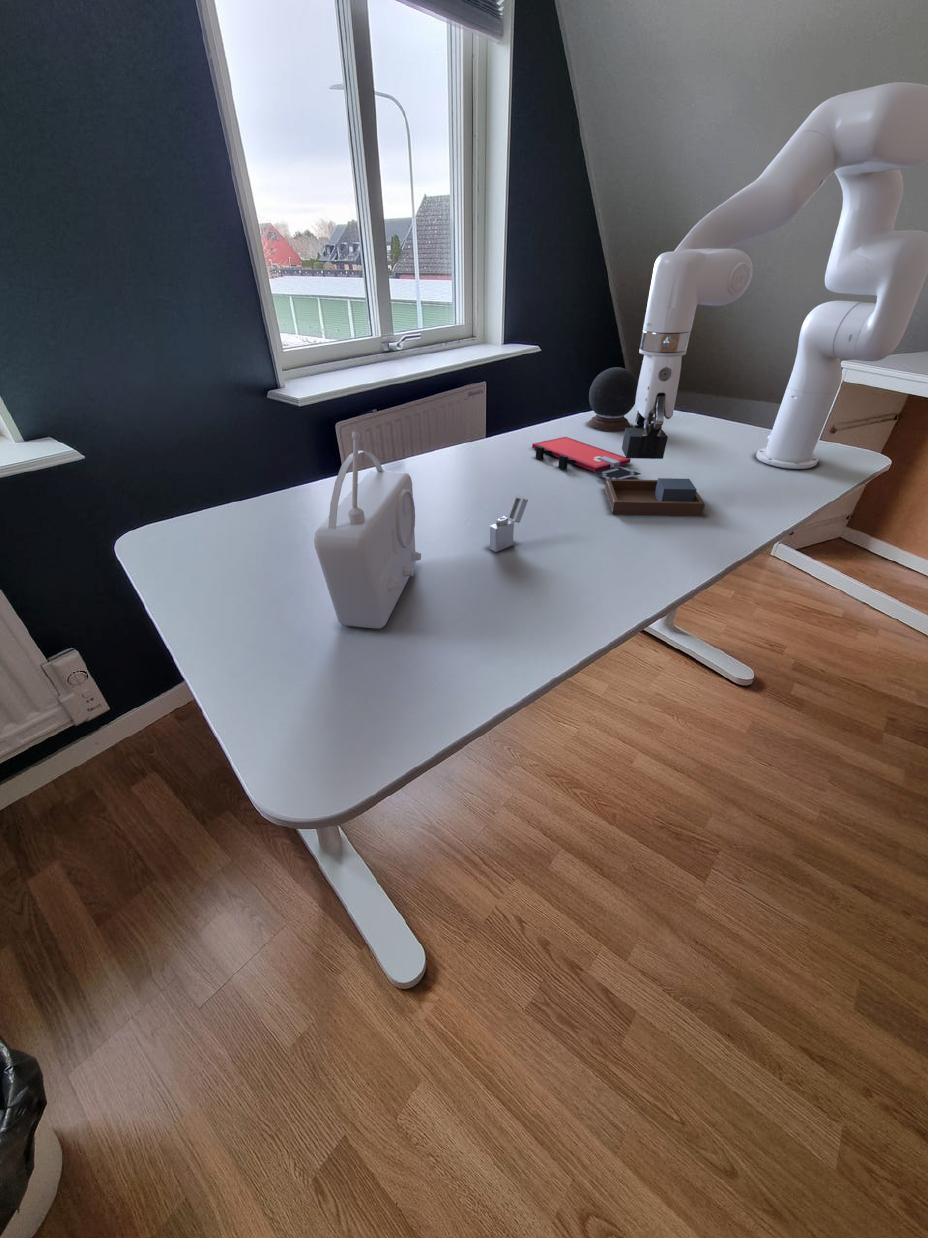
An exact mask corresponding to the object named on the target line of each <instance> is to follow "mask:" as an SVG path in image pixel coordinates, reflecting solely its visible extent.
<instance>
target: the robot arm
mask: <svg viewBox="0 0 928 1238" xmlns="http://www.w3.org/2000/svg"><path fill="white" fill-rule="evenodd" d="M925 164H928V84H924V83H923V84H922V83H916V82H905V81H894V82H893V81H892V82H888V83H883V84H882V83H881V84H879V85H875V86H870V87H865V88H861V89H858V90H852V91H848V92H844V93H840V94H837V95H834V96H832V97H830V98H828V99H826V100H825V101H822V102H821V103H820V104H819V105H818V106H816V108H814V110H812V112H811V113H810V114H809V115H808V116H807V117H806V118H805V120H804V121H803V122H802V123H801V125H800V126H799V127H798V128H797V129H796V131H794V133H793V134H792V136H791V137H790V138H789V139H788V141H786V144H785V145H784V146H783V147H782V148H781V149H780V151H779V152H777V155H776V156H775V157H774V158H773V159H772V160H771V162H769V164H768V165H767V166H766V168H765V169H764V170H763V171H762V172H761V174H760V175H759V176H758V177H757V178H756V180H753V182H751V183H750V184H747V185H746V186H744V187H743V188H742V189H740V190H739V191H737V192H736V193H734V194H733V195H731V196H730V197H729V198H728V199H726V200H725V201H724V202H722V203H721V204H719V205H718V206H717V207H715V208H714V209H712V210H711V211H710V212H708V213H707V214H705V216H703V217H702V218H701V219H700V220H699V221H698V222H697V223H696V224H694V226H693V227H692V228H691V229H690V230H689V231H688V233H687V234H686V235H685V237H684V238H683V239H682V240H681V241H680V243H679V244H678V245H677V246H676V248H675V249H674V251H673V250H672V251H666V252H662V253H660V254H659V255H658V256H657V258H656V259H655V262H654V264H653V270H652V276H651V282H650V287H649V292H648V293H649V294H648V298H647V306H646V310H645V311H646V312H645V315H644V321H643V326H642V327H643V328H642V333H641V338H640V345H639V351H638V353H639V354H641V355H643V360H642V362H641V363H642V364H641V368H640V372H639V378H638V381H637V383H638V387H637V393H636V401H635V405H634V407H635V408H636V410H637V413H636V417H635V421H634V425H633V428H644V430H643V435H641V437H640V442H639V447H638V452H637V457H638V458H637V459H639V458H655V456H656V451H657V447H658V442H659V438H660V433H661V429H663V425H664V422H665V419H666V420H670V419H671V418H672V417H673V415H674V412H675V405H676V399H677V395H678V390H679V385H680V377H681V369H682V357H683V356H685V355H686V354H687V350H688V347H689V342H690V339H691V338H690V337H691V333H692V328H693V325H694V320H695V316H696V311H697V307H698V305H700V306H710V307H722V306H726V305H727V306H728V305H729V304H732V303H733V302H735V301H737V300H738V299H739V298H740V297H742V296H743V294H744V293H745V292H746V291H747V289H748V288H749V286H750V284H751V281H752V278H753V273H754V267H753V262H752V259H751V258H750V256H749V255H748V254H747V252H745V251H743V250H741V249H737V248H734V247H736V246H738V245H740V244H742V243H745V242H748V241H750V240H754V239H755V238H760V237H761V236H763V235H766V234H769V233H771V232H774V231H775V230H778V229H780V228H783V227H784V226H785V225H787V224H790V223H791V222H792V221H793V220H794V219H795V218H797V216H798V215H799V214H800V213H801V211H803V209H804V208H805V207H806V205H807V204H808V203H809V202H810V200H811V199H812V198H813V196H815V194H816V193H817V192H818V191H819V190H820V188H821V187H822V186H823V185H824V184H825V182H826V181H828V179H830V177H831V176H832V175H833V173H834V175H835V176H836V178H837V180H838V182H839V184H840V187H841V191H842V208H841V212H840V216H839V221H838V225H837V228H836V232H835V234H834V235H835V236H834V239H833V243H832V246H831V250H830V254H829V258H828V261H827V265H826V269H825V274H824V286H825V289H827V290H828V291H829V292H831V293H836V294H844V295H845V294H846V295H858V296H859V295H862V296H876V302H866V301H857V300H856V301H855V300H831V301H826V302H823V303H820V304H819V305H817V306H815V307H814V308H813V309H812V310H811V311H809V312H808V313H807V315H806V316H805V319H804V320H803V322H802V325H801V327H800V330H799V331H800V332H799V337H798V345H797V350H796V354H795V355H796V356H795V360H794V364H793V367H792V370H791V373H790V376H789V380H788V382H787V385H786V388H785V392H784V394H783V397H782V399H781V400H782V401H781V403H780V406H779V409H778V412H777V415H776V417H775V421H774V423H773V427H772V429H771V432H770V434H769V435H767V440H768V441H767V444H766V447H762V448H760V449H758V450H757V451H756V454H755V457H756V459H757V460H758V461H760V463H761V462H762V463H764V464H766V465H769V466H773V467H777V468H782V469H790V470H805V469H810V468H813V467H816V466H817V464H818V462H819V458H818V457H817V455H815V454H813V453H814V451H815V449H816V446H817V445H818V444H817V443H818V442H819V439H820V436H821V434H822V431H823V429H824V426H825V424H826V421H827V419H828V416H829V414H830V411H831V408H832V406H833V404H834V401H835V399H836V397H837V394H838V392H839V389H840V386H841V384H842V379H843V368H842V364H841V359H847V360H854V361H863V362H878V361H882V360H884V359H886V358H887V357H889V356H890V355H891V354H892V353H893V352H895V350H896V348H897V347H898V346H899V344H900V342H901V341H902V340H903V337H904V334H905V332H906V330H907V327H908V325H909V323H910V320H911V317H912V315H913V313H914V310H915V308H916V304H917V302H918V300H919V296H920V294H921V291H922V289H923V287H924V284H925V281H926V278H927V277H928V232H927V231H924V230H919V229H904V230H895V225H896V224H895V223H896V220H897V216H898V213H899V210H900V207H901V203H902V200H903V196H904V179H903V175H902V172H901V170H907V169H913V168H914V169H915V168H918V167H921V166H924V165H925Z"/></svg>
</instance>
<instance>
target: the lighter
mask: <svg viewBox="0 0 928 1238" xmlns="http://www.w3.org/2000/svg"><path fill="white" fill-rule="evenodd" d="M528 501H529V499H528V498H525V497H523V496H521V495H516V496H515V498H514V499H513V504H512V505H511V508H510V510H509V514H508V516H505V515H503V516H501V517H498V518H496V522H495V523H494V524H491V525H490V526H489V550H491V551H493V552H495V553H498V552H500V551H503V550H505V549H507V548H509V547H511V546H513V545H514V529H515V523H517V524H519V523H521V520H522V518H523V516H524V512H525V511H526V507H527V504H528Z"/></svg>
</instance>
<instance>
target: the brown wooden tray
mask: <svg viewBox="0 0 928 1238" xmlns="http://www.w3.org/2000/svg"><path fill="white" fill-rule="evenodd" d="M657 481H658V479H629V478H625V479H606V478H605V485H604V493H605V496H606V499H607V502H608V505H609V508H610V512H611V514H612V515H642V516H643V515H645V516H647V515H649V516H685V517H687V516H689V517H690V516H693V517H694V516H695V517H702V516H703V512H704V510H705V505H706V503H705V501H704V499H703V498H702V496H701V495H700V494H699V492H698V491H697V490H696V494H695V498H694V501H693V502H677V501H657V499H656V497H655V495H654V494H655V490H656V485H657Z"/></svg>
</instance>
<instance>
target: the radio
mask: <svg viewBox="0 0 928 1238" xmlns="http://www.w3.org/2000/svg"><path fill="white" fill-rule="evenodd" d="M360 438H361V432H359V431H352V432H351V439H352V453H350V454H349V455H348V456H347V457H346V459H345V460H344V461H343V463H342V464H341V466H340V468H339V471H338V474H337V476H336V479H335V482H334V485H333V490H332V495H331V500H330V505H329V514H328V516H327V517H326V518H325V519H324V520H323V522H322V523H321V524H320V525H319V526H318V527H317V529H316V530H315V532H314V536H313V537H314V538H313V544H314V549H315V552H316V555H317V558H318V561H319V564H320V565H319V566H320V567H321V571H322V574H323V577H324V581H325V583H326V587H327V590H328V593H329V597H330V599H331V603H332V606H333V609H334V612H335V613H334V614H335V616H336V619H337V621H338V623H339V624H340V625H342V626H345V627H346V626H347V627H356V628H366V629H368V628H369V629H377V630H378V629H382V628H384V627H385V626H386V624H387V622H388V621H389V619H390V618H391V617H390V616H391V614H392V612H393V611H394V609H395V606H397V605H396V604H397V603H398V600H399V599H400V596H401V595H402V593H403V591H404V589H405V587H406V584H407V583H408V580H409V579H410V577H414V572H415V570H414V569H415V566H416V563H417V562H418V561H421V559H422V553H421V552H420V551H416V535H415V526H416V508H415V507H416V506H415V501H414V500H415V499H414V493H413V492H414V490H413V481H412V477H411V475H410V474H409V473H408V472H406V471H393V470H392V471H391V470H384V468H383V466H382V464H381V462H380V460H379V459H378V458H377V457H376V455H375V454H374V453H373V452H371V451H366V450H359V441H360ZM361 454H365V455H366V456H367V457H368V458H369V459H370V460H371V461H372V463H373V466H374V467H375V470H370V471H368V472H367V473H366V474H365V475H364V476H363V477H362V478H361V480H360V481H359V476H358V475H359V456H360V455H361ZM351 464H352V483H351V484H352V487H351V489H352V490H351V491H350V492H349V493H348V494H347V495H346V496H345V498H343V499H342V501H340V496H341V491H342V487H343V483H344V480H345V477H346V476H347V472H348V470H349V467H350V466H351Z"/></svg>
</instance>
